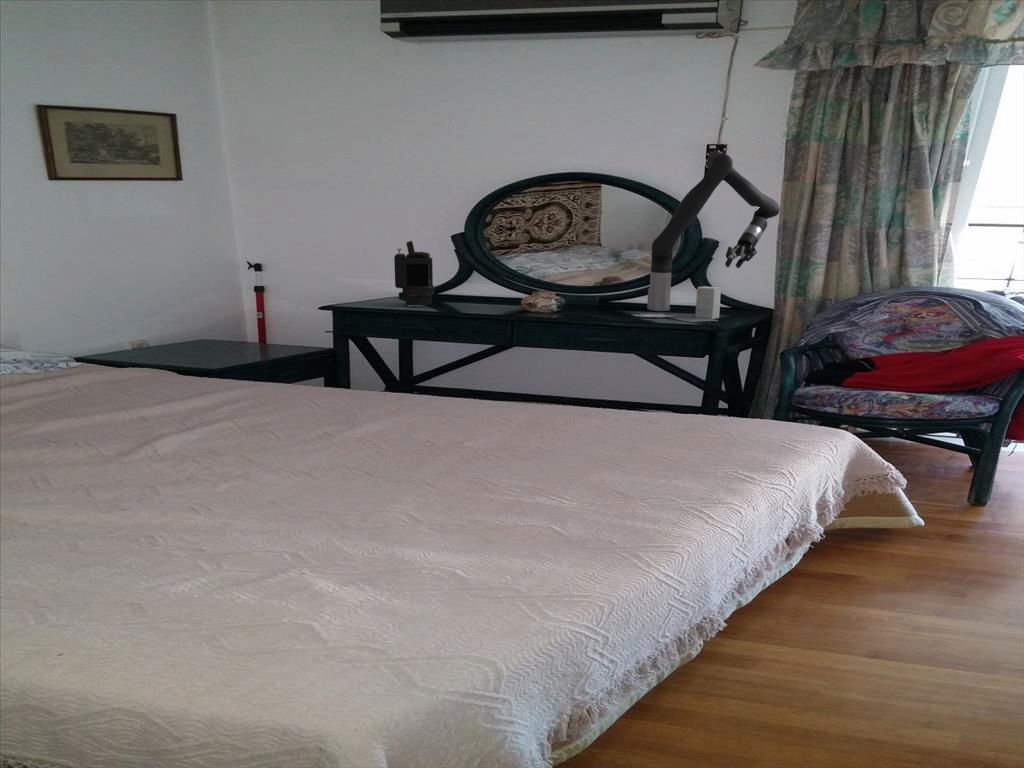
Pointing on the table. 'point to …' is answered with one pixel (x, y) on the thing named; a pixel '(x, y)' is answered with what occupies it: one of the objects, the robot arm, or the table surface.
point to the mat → (693, 319)
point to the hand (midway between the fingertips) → (731, 266)
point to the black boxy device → (414, 276)
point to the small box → (708, 302)
